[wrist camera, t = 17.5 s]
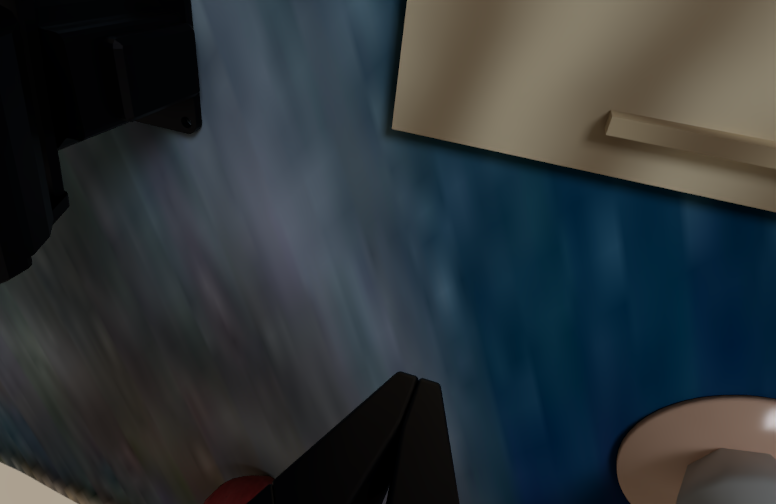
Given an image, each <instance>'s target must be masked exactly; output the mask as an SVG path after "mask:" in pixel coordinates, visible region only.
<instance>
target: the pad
mask: <svg viewBox="0 0 776 504" xmlns="http://www.w3.org/2000/svg"><path fill="white" fill-rule="evenodd" d="M720 448H727V449H735V450H742V451H750V452H758V453H766V454H771V455H772V456H773V457H774V458H775V459H776V399H774V398H767V397H760V396H747V395H720V396H710V397H702V398H697V399H691V400H686V401H683V402H680V403H676V404H673V405H670V406H667V407H665V408H663V409H660V410H658V411H656V412H654V413H652V414H651V415H649V416H647V417H645V418H644V419H643V420H641V421H640V422H639V423H637V424H636V425H635V426H634V427H633V428H632V429H631V430H630V431H629V432H628V433H627V435H626V436H625V438H624V439H623V440H622V443H621V445H620V447H619V449H618V454H617V462H616V467H617V476H618V481H619V484H620V487H621V489H622V492H623V493H624V495H625V496H626V498H627V500H628V501H629V502H630V503H631V504H676V501H677V496H678V493H679V490H680V487H681V484H682V481H683V478H684V475H685V472H686V469H687V466H688V465H689V464H691V463H693V462H695V461H697V460H699V459H701V458H702V457H704V456H706V455H708V454H710V453H712V452H714V451H716V450H718V449H720Z"/></svg>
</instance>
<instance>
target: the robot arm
mask: <svg viewBox="0 0 776 504" xmlns="http://www.w3.org/2000/svg"><path fill="white" fill-rule="evenodd" d="M199 91H200V89H199V78H198V67H197V56H196V45H195V34H194V30H193V21H192V10H191V0H0V284H1V283H4V282H6V281H8V280H10V279H11V278H13V277H15V276H16V275H18V274H20V273H21V272H23V271H25V270H26V269H28V268H29V267H30V266H31V265H32V258H31V256H32V255H34V254H35V253H36V252H37V251H38V249H39V248H40V247H41V246H42V245H43V244H44V243H45V241H46V240H47V239H48V238H49V237H50V234H51V230H52V225H53V224H54V223H55V222H56V221H57V219H58V218H59V217H60V216H61V215H62V214H63V213H64V212H65V211H66V209H67V208H68V207H69V199H68V193H67V192H66V191H64V187H63V181H62V175H61V168H60V162H59V156H58V150H60V149H63V148H65V147H68V146H70V145H73V144H75V143H78V142H80V141H83V140H86V139H88V138H91V137H93V136H96V135H98V134H101V133H103V132H106V131H108V130H111V129H113V128H116V127H118V126H121V125H123V124H126V123H128V122H133V121H137V122H141V123H145V124H150V125H154V126H158V127H162V128H166V129H171V130H175V131H179V132H183V133H187V134H191V133H193V132H195V131H197V130H199V129H200V128H201V126H202V119H201V108H200V97H199ZM187 118H189V119H190V121H191V125H190V124H189V123H188V121H187ZM388 488H389V491H388ZM387 491H388V496H387V501H386V504H459V497H458V491H457V485H456V478H455V472H454V466H453V460H452V453H451V447H450V441H449V435H448V428H447V422H446V416H445V410H444V403H443V397H442V391H441V386H440V384H439V383H437V382H433V381H430V380H427V379H424V378H421V379H419V381H418V378H417V377H416V376H414V375H411V374H408V373H404V372H397V373H396V374H394V375H393V376H392V377H391V378H390V379H389V380H388V381H386V382H385V383H384V384H383V385H382V386H381V387H380V388H378V389H377V390H376V391H375V392H374V393H373V394H372V395H370V396H369V397H368V398H367V399H366V400H365V401H364V402H362V403H361V404H360V405H359V406H358V407H357V408H356V409H354V410H353V411H352V412H351V413H350V414H349V415H348V416H346V417H345V418H344V419H343V420H342V421H341V422H340V423H338V424H337V425H336V426H335V427H334V428H333V429H332V430H330V431H329V432H328V433H327V434H326V435H325V436H324V437H322V438H321V439H320V440H319V441H318V442H317V443H316V444H314V445H313V446H312V447H311V448H310V449H309V450H308V451H306V452H305V453H304V454H303V455H302V456H301V457H299V458H298V459H297V460H296V461H295V462H294V463H293V464H291V465H290V466H289V467H288V468H287V469H286V470H285V471H283V472H282V473H281V474H280V475H279V476H278V477H277V478H275V479H274V480H273V482H272V484H268V485H267V486H266V487H265V488H264V489H263V490H261V491H260V492H259V493H258V494H257V495H256V496H255V497H253V498H252V499H251V500H250V501H249V502H247V503H246V504H382V503H383V500H384V498H385V495H386V493H387Z"/></svg>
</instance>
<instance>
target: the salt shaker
mask: <svg viewBox="0 0 776 504" xmlns="http://www.w3.org/2000/svg"><path fill="white" fill-rule="evenodd" d="M676 504H776V459H775V458H774V457H773V456H772V455H771V454H766V453H758V452H750V451H742V450H735V449H727V448H720V449H718V450H716V451H714V452H712V453H710V454H708V455H706V456H704V457H702V458H701V459H699V460H697V461H695V462H693V463H691V464H689V465H688V466H687V469H686V472H685V475H684V478H683V481H682V484H681V487H680V490H679V493H678V496H677V501H676Z"/></svg>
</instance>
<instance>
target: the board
mask: <svg viewBox="0 0 776 504" xmlns="http://www.w3.org/2000/svg"><path fill="white" fill-rule="evenodd" d="M392 129H395V130H399V131H404V132H408V133H413V134H418V135H422V136H427V137H431V138H436V139H441V140H445V141H450V142H454V143H459V144H464V145H468V146H473V147H477V148H482V149H487V150H491V151H496V152H501V153H505V154H510V155H514V156H519V157H524V158H528V159H533V160H537V161H542V162H547V163H551V164H556V165H560V166H565V167H570V168H574V169H579V170H583V171H588V172H593V173H597V174H602V175H607V176H611V177H616V178H620V179H625V180H630V181H634V182H639V183H643V184H648V185H653V186H657V187H662V188H666V189H671V190H676V191H680V192H685V193H689V194H694V195H699V196H703V197H708V198H713V199H717V200H722V201H726V202H731V203H736V204H740V205H745V206H749V207H754V208H759V209H763V210H768V211H772V212H776V0H407V6H406V14H405V22H404V31H403V39H402V47H401V56H400V64H399V73H398V81H397V89H396V98H395V106H394V114H393V123H392Z"/></svg>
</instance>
